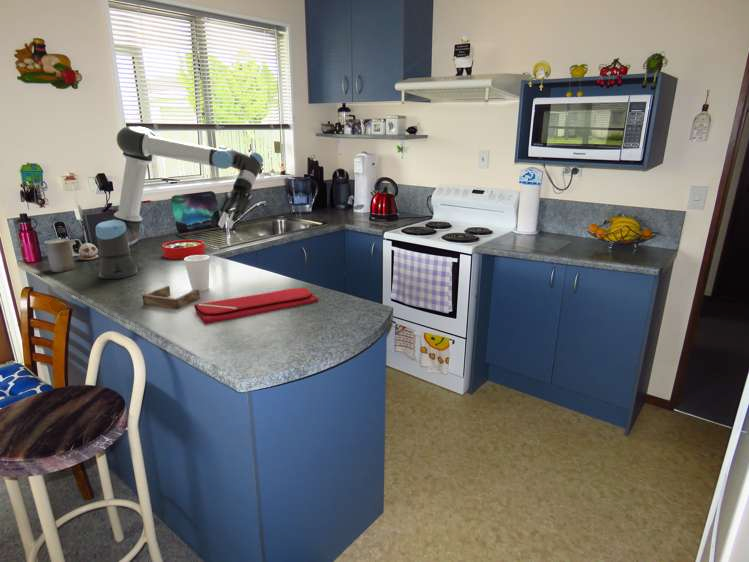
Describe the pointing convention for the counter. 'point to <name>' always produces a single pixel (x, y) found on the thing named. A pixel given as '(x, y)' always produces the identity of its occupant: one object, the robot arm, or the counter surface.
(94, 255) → the decorative ornament
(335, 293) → the counter surface
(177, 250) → the red round bowl
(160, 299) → the brown bent bar
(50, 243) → the grey tapered container
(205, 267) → the foam cup
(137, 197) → the robot arm
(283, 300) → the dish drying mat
